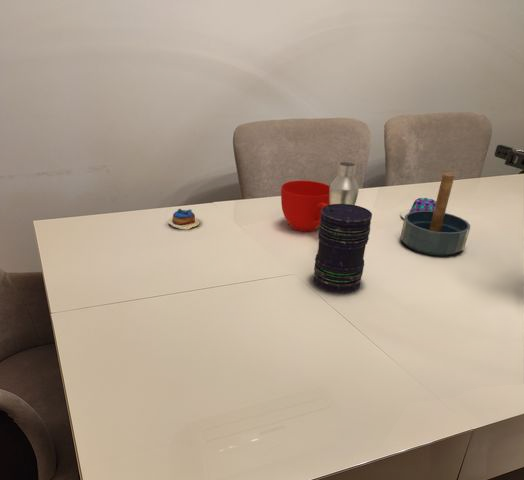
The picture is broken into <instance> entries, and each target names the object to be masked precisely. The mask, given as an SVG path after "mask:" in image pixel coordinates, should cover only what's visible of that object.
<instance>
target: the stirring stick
mask: <svg viewBox="0 0 524 480" xmlns="http://www.w3.org/2000/svg"><path fill="white" fill-rule="evenodd" d="M454 181H455V174H454V173H451V172H450V173H449V172H444V173H442V175H441V180H440V185H439V189H438V191H437V196H436V200H435V201H436V204H435V208H434V213H433V217H432V221H431V225H430V229H429V230H430V231H437V232H440V231H441V227H442V223H443V219H444V215H445V213H446V211H447V208H448V203H449V199H450V196H451V191H452V188H453V184H454Z"/></svg>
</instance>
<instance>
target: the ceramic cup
mask: <svg viewBox="0 0 524 480" xmlns="http://www.w3.org/2000/svg"><path fill="white" fill-rule="evenodd" d="M329 188H330V185H329V184H326V183H323V182H320V181H315V180H314V181H312V180H291V181H287V182H284V183H283V184H282V185H281V187H280V203H281V209H282V213H283V216H284V218H285V220H286V221H287V223H288V225H289V226H290V227H291V228H292V229H293V230H295V231H298V232H312V231H315V230H317V228H319V223H320V219H321V210H322V208H323V207H324V206H327V205H329Z"/></svg>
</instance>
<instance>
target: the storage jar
mask: <svg viewBox="0 0 524 480" xmlns="http://www.w3.org/2000/svg"><path fill="white" fill-rule="evenodd" d="M372 218H373V213H372V212H371V210H369V209H367V208H366V207H363V206H359V205H356V204H355V205H350V204H331V205H327V206H324V207H323V208H322V210H321V219H320V223H319V226H318V232H317V235H318V236H317V238H318V248H317V253H316V255H315V257H314V261H315V262H314V265H313V267H314V268H313V270H314V273H313V275H314V276H313V284H314V285H315V286H316V287H317V288H318V289H320V290H322V291H325V292H327V293H332V294H350V293H351V294H352V293H354V292H357V290H358V289H360V287H361V280H362V277H363V273H364V267H365V259H364V257H365V252H366V251H365V250H366V246H367V244H368V242H369V240H370V233H371V223H372V222H371V221H372Z"/></svg>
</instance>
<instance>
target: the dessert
mask: <svg viewBox="0 0 524 480" xmlns="http://www.w3.org/2000/svg"><path fill="white" fill-rule="evenodd" d="M168 223H169V225H170V226H171V227H174V228H175V229H180V230H189V229H192V228H195V227H197V226H199V224H200V221H199V220H198V218H196V215H195V213H194V212H193V210H192V209H191V208H189V209H186V210H185V209H181V208H178V209H177V210H175V211H174V212H173V214H172V218H170V219H169V220H168Z"/></svg>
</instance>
